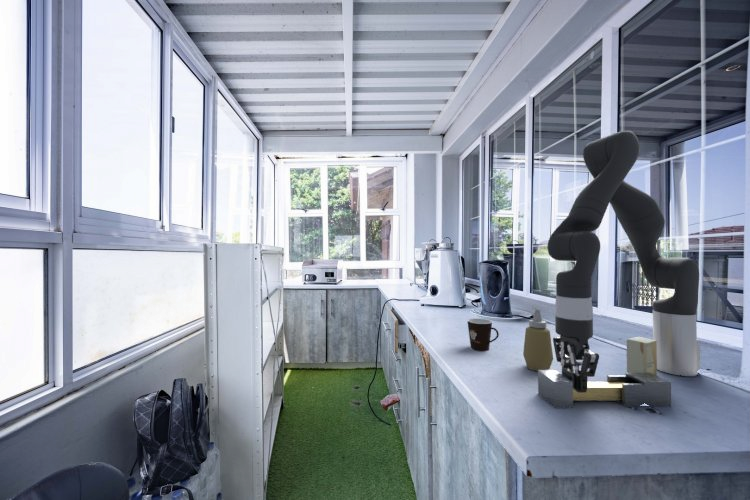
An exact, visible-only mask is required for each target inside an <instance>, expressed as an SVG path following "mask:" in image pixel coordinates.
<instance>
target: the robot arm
mask: <svg viewBox="0 0 750 500" xmlns="http://www.w3.org/2000/svg"><path fill="white" fill-rule="evenodd" d="M640 152H641V144H640V141H639V139H638V136H637V135H636V134H635V133H634V132H633V131H631V130H622V131H621V130H620V131H618V132H614V133H612V134H609V135H607V136H603V137H601V138H598V139H596V140H594V141H590V142H588V143H587V144H585V146H584V148H583V151H582V157H583V162H584V165H585V166H586V168H587V170H588V172H589V173H590V175H591V177H593V180H592V181H590V182H589V183H588V184H587V185H586V186H585V187H584V188H583V189H582V190H581V191H580V193H578V195H577V197H575V200H574V202H573V204H572V206H571V209H570V211H569V213H568V215H567V216H566V218H565V219H564V220H563V221H562V222H560V223H559V225H558V226H557V227H556V228H555V230H554V231H552V233H551V235H550V236H549V238H548V242H547V252H548V254H549V256H550V257H551V258H552V259H553V260H556V261H560V262H562V261H563V262H575V264H574V266H573V268H572V269H570V270H569V269H568V270H563V271H559V272H558V273H557V274H556V279H555V281H556V282H555V283H556V285H555V290H556V295H555V296H556V297H555V303H554V310H555V311H554V315H555V316H554V317H555V318H554V319H555V324H554V325H555V329H554V330H555V333H556V334H557V335H559V337H553V338H552V342H553V349H554V353H555V358H556V359H555V360H556V362H558V363H560V366H561V368H562V367H574V370H575V390H576V391H577V392H579V393H585V392H586V391H587V382H588V378H591V377H592V378H593V377H595V375H596V371H597V367H598V364H599V359H600V354H599V353H598V352H593V351H592V350H590V345H589V340H590V339H591V338H592V337H594V317H593V316H594V308H593V299H592V279H593V275H594V270H595V268H596V264H597V261H598V258H599V255H600V252H601V242H600V239H599V237H598V236H597V234H596V233H594V231H597V229H598V228H600V226H601V224H602V221H603V218H604V216H605V214H606V212H607V209H608V207H609V205H611V208H612V209H613V211H614V214H615V215H616V218H617V220H618V222H619V223H620V225H621V227H622V229H623V231H624V233H625V234H626V235H627V238H628V240H629V242H630V244H631V246H632V248H633V250H634V252H635V255H636V257H637V259H638V262H639V266H640V268H641V271H642V273H643V276H644V278H645V279H646V281H647V283H648V284H649V285H650V286H652V287H654V288H659V289H667V290H669V289H670V290H674V291H673V295H672V296H669V297H667V298H664V299H655V300H654V301H653V302H652V339H653V340H657V371H661V372H662V373H666V374H671V375H674V376H680V375H681V376H682V377H696V376H697V375H698V374H697V371H698V370H699V369H701V366H702V365H701V362H702V361H701V341H700V340H699V339H697V334H698V333H697V308H698V304H699V287H700V286H699V285H700V270H699V265H698V263H697V262H696V261H695V260H694V259H692V258H687V257H686V258H685V257H662V256H661V255H660V254H659V253H660V252H659V251H658V248H657V243H658V241H659V240H660V239H659V238H661V235H662V233H663V230H664V228H665V222H666V219H665V217H664V215H663V213H662V211H661V209H660V206H659V205H658V202H657V200H656V199H654V197H652V195H650V194H648V193H647V192H644V191H643V190H641V189H640V188H637V187H635V186H633V185H631V184H629V183H628V182H626V181H625V178H626V177H627V175H628V174H629V172H630V171H631V170H632V168H633V167H634V166H635V164H636V163H637V160H638V158H639V155H640ZM580 366H581V367H580ZM580 369H581V370H580Z"/></svg>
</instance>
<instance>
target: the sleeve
mask: <svg viewBox="0 0 750 500" xmlns="http://www.w3.org/2000/svg"><path fill="white" fill-rule="evenodd" d="M606 382H625V383H622V400H615V401H616V402H617V403H619V404H621V405H622V406H623V407H641V406H640V405H642V404H644V403H645V404H647V405H649V406H648V407H672V381H669V380H667V379H665V378H663V377H661V376H658V375H657V376H656V375H654V374H652V373H627V372H625V374H624V375H622V374H621V375H619V374H618V375H616V374H615V375H614V374H613V375H611V374H610V375H607V376H606Z"/></svg>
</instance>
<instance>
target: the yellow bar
mask: <svg viewBox="0 0 750 500" xmlns="http://www.w3.org/2000/svg"><path fill="white" fill-rule="evenodd" d="M579 369H580V370H581V368H579ZM561 374H562V375H563V376H565V377H566V378H568V379H569V380H571V381H572V382H573V401H616V400H622V383H625V382H607V381H587V391H586V392H585V393H579V392H577V391H576V390H575V370H574V366H573V367H562V366H561Z"/></svg>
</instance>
